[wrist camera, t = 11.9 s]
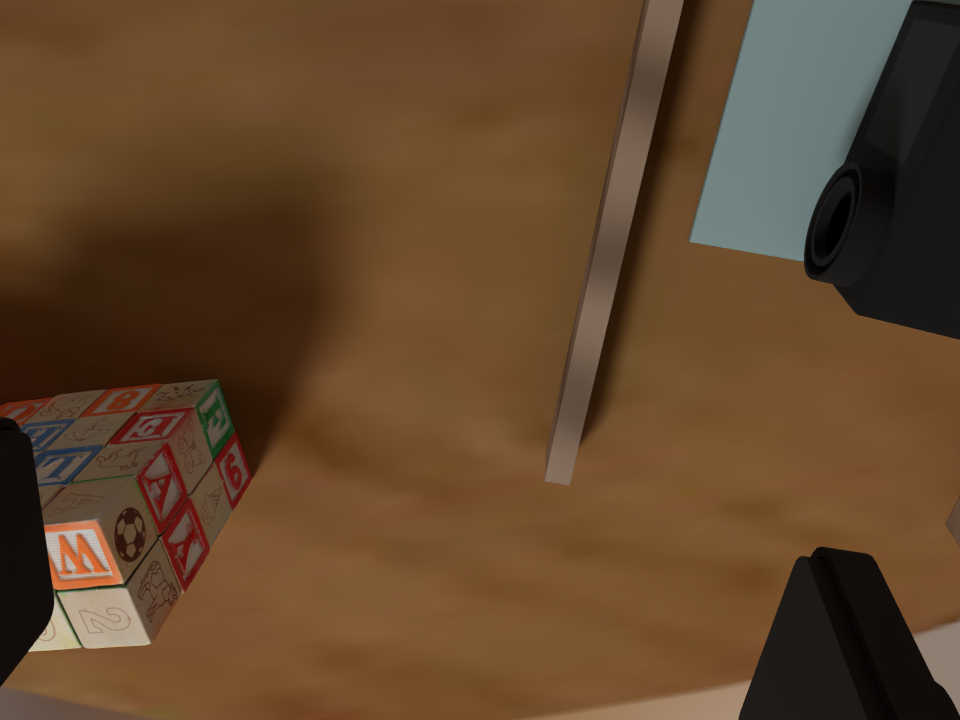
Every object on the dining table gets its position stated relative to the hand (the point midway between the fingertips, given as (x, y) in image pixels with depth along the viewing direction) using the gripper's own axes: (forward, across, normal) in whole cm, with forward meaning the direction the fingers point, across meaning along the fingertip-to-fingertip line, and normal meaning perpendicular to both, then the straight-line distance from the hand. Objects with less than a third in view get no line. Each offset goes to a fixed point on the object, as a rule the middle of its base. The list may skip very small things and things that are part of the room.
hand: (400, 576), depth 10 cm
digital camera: (+28, -15, -2) cm, 32 cm away
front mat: (+28, -14, -2) cm, 32 cm away
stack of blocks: (+28, +23, +20) cm, 41 cm away
